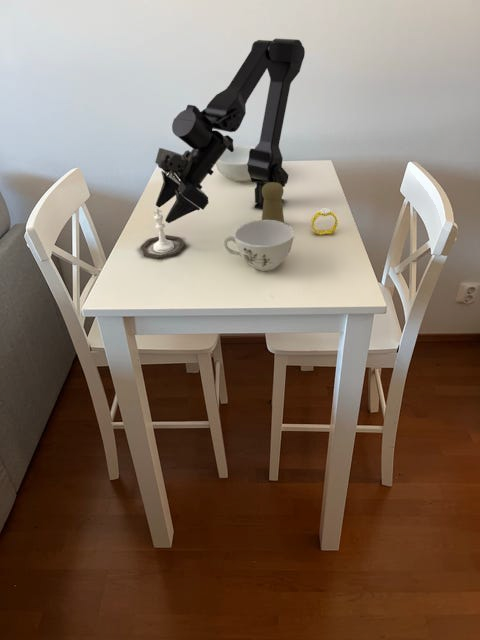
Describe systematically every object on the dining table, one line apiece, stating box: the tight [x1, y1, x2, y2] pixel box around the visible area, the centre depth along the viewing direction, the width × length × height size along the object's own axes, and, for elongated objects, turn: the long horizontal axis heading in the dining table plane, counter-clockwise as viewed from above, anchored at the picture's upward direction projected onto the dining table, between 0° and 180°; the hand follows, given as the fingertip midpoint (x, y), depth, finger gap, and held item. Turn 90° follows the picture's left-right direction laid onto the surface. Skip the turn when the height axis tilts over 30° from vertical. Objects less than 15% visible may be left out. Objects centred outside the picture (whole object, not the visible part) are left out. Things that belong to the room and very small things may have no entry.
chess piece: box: [152, 207, 175, 253], centre depth 108 cm, size 5×5×10 cm
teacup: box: [223, 219, 295, 272], centre depth 101 cm, size 15×12×8 cm
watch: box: [311, 207, 339, 236], centre depth 111 cm, size 6×3×6 cm, turn 91°
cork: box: [261, 182, 285, 223], centre depth 114 cm, size 6×6×11 cm
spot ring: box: [139, 234, 186, 260], centre depth 111 cm, size 10×10×1 cm
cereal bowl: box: [215, 145, 256, 183], centre depth 142 cm, size 17×17×7 cm
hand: (161, 213), depth 106 cm, fingers open, 9 cm apart
